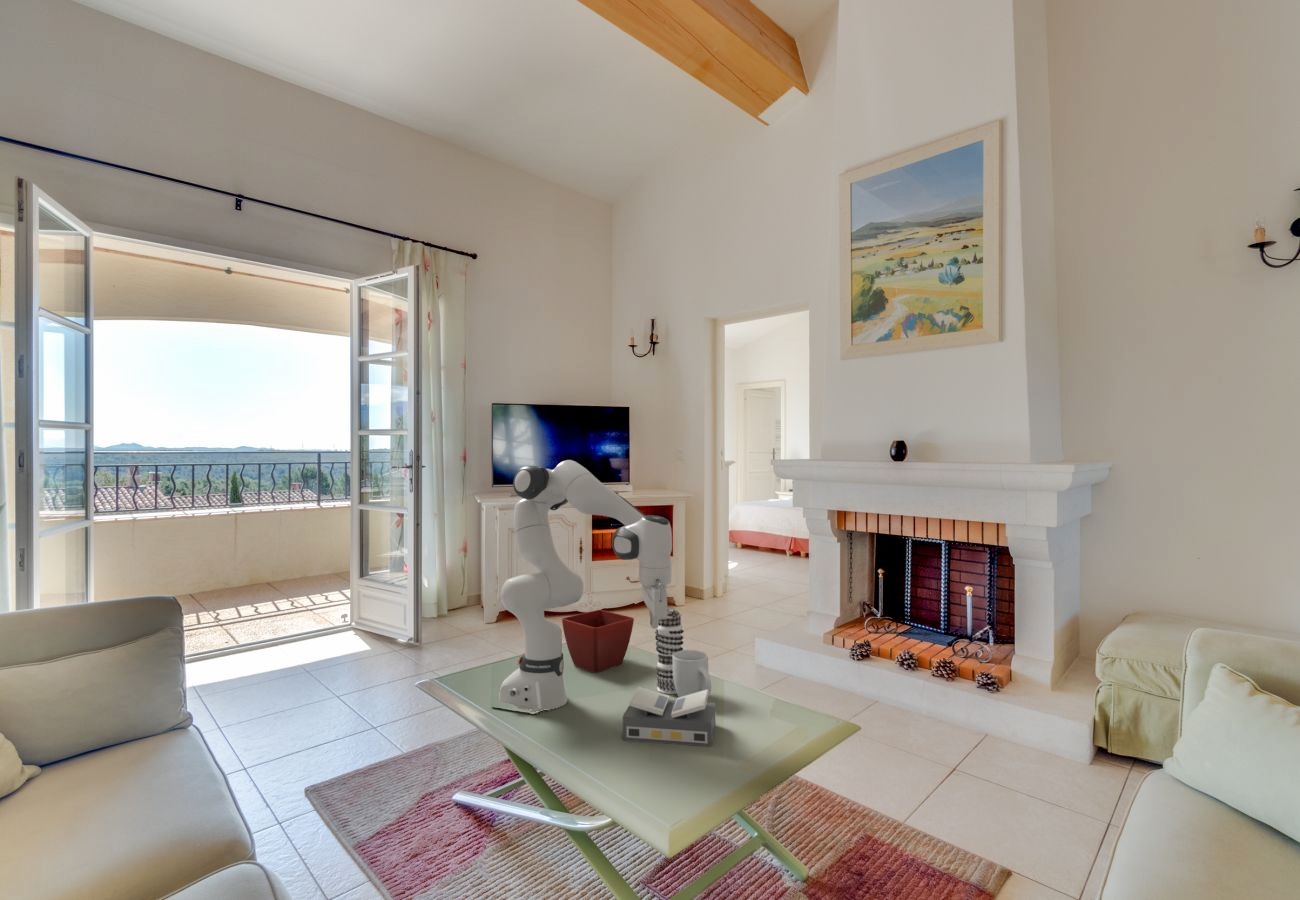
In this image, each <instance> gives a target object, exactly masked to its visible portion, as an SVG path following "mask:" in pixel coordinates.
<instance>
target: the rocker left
mask: <svg viewBox="0 0 1300 900" xmlns="http://www.w3.org/2000/svg"><path fill="white" fill-rule="evenodd" d="M668 700H670V695H669V694H664V693H661V692H659V691H654V690H651V689H648V688H644V687H640V686H638V687H637V689H636V690H635V692H634V694H633V696H632V698H631V699H630V701H629V705H628V706H632V707H635V708H639V709H642V710H645V711H648V712H652V713H655V714H658V715H663V713H664V710H665V708H666V705H667V703H668Z"/></svg>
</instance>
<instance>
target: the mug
mask: <svg viewBox="0 0 1300 900" xmlns="http://www.w3.org/2000/svg"><path fill="white" fill-rule="evenodd" d="M672 660H673V662H672V665H673V667H672V668H673V680H674V685H675V689H676V692H677V693H676V694H677V696H678V698H679V697H683V696H686V695H690V694H693V693H697V692H700V691H703V690H707V689H708V691H709V695H710V694H711V691H712V679H711V676H710V674H709V655H708V654H707V653H706V652H704V651H700V650H695V649H683V650H682V651H678V652H675V653H674V654H673V656H672Z"/></svg>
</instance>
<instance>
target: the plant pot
mask: <svg viewBox="0 0 1300 900" xmlns="http://www.w3.org/2000/svg"><path fill="white" fill-rule="evenodd" d="M634 620H635V618H634V617H631V616H629V615H624V614H620V613H616V612H612V611H608V610H603V609H597V610H593V611H588V612H584V613H579V614H576V615H575V614H574V615H571V616H567V617H566V616H565V617H562V618H561V623H562V624H561V625H562V629H563V635H564V638H565V642H566V646H567V649H568V652H569V655H570V658H571V660H572V663H573V665H574V666H576V667H578V668H582V669H583V670H587V671H590V672H593V673H600V672H604V671H606V670H609V669H612V668H615V667H618V666H621V665H622V664H623V661H624V659H625V657H626V653H627V650H628V647H629V644H630V640H631V635H632V631H633V629H634V628H633V626H634V622H635V621H634Z"/></svg>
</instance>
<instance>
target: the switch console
mask: <svg viewBox="0 0 1300 900" xmlns="http://www.w3.org/2000/svg"><path fill="white" fill-rule="evenodd" d="M676 700H677V699H674V700H673V699H669V700H668V703H667V705H666V708H665V710H664V713H663V715H658V714H655V713H652V712H648V711H645V710H642V709H639V708H635V707H632V706H629V705H628V707H627V708H626V710H625V712H624V713H623V715H622V740H623V741H633V742H646V743H657V744H658V743H659V744H672V745H683V746H684V745H685V746H696V747H709V748H710V747H712V745H713V739H714V736H715V730H716V702H708V701H707V703H706V707H705V709H703V710H699V711H695V712H692V713H688V714H685V715H681V716H678V717H674V718H672V716H671V713H672V710H673V708H674V705H675V702H676Z"/></svg>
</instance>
